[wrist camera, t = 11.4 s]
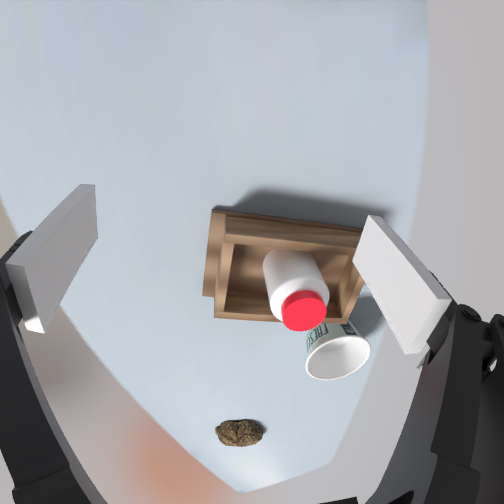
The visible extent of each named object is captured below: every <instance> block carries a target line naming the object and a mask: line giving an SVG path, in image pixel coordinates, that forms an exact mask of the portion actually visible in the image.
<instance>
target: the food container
mask: <svg viewBox="0 0 504 504" xmlns="http://www.w3.org/2000/svg"><path fill="white" fill-rule="evenodd" d="M306 346H307V361H306V371H307V372H308V374H309V375H310V376H312V377H313V378H316V379H320V380H334V379H338V378H342V377H345V376H347V375H349V374H351V373H353V372H355V371H356V370H358V369H359V368H360V367H361V366H362V365H363V364H364V363H365V362H366V361H367V359H368V358H369V356H370V353H371V346H370V343H369V342H368V340H366V339H365V338H363V337H362V336H361V335H360V333H359V332H358V331H357V329H356V328H355V327H354V325H353V324H352V323H351V321H350V320H348V321H347V323H346V324H319V325H318V326H316V327H315V328H313V329H310V330H309V331H308V333H307V336H306Z"/></svg>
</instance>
